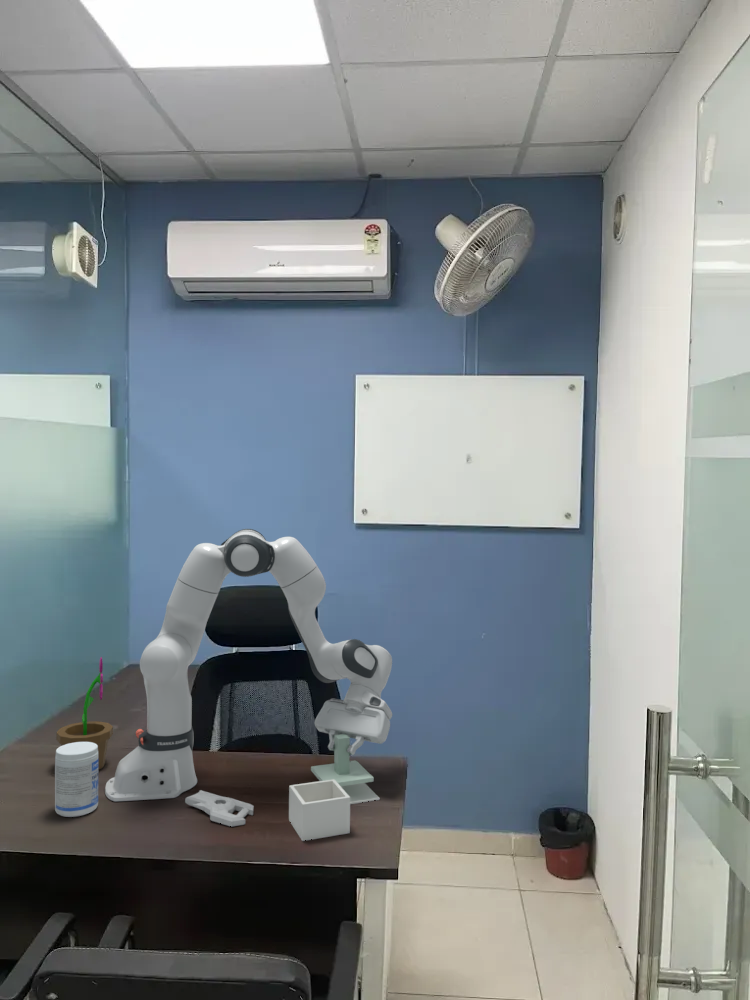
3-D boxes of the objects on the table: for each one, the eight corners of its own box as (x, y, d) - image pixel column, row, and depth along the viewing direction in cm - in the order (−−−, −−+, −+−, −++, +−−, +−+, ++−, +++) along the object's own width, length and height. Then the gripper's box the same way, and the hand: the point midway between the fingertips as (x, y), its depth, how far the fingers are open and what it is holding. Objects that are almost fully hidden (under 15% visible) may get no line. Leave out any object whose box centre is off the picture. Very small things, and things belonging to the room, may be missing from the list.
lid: (326, 791, 178) (326, 747, 178) (310, 773, 189) (311, 731, 189) (373, 784, 182) (373, 741, 182) (355, 767, 194) (356, 726, 194)
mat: (321, 808, 176) (321, 807, 176) (304, 785, 190) (304, 783, 190) (379, 799, 182) (379, 798, 182) (358, 777, 196) (358, 776, 196)
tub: (302, 841, 160) (302, 804, 160) (288, 819, 170) (289, 785, 170) (349, 833, 164) (350, 797, 164) (333, 812, 174) (334, 779, 174)
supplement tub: (102, 812, 172) (103, 750, 172) (59, 822, 167) (59, 757, 167) (92, 798, 180) (93, 738, 180) (51, 806, 175) (51, 745, 175)
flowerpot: (113, 772, 196) (115, 661, 196) (55, 780, 191) (56, 665, 191) (111, 754, 210) (112, 649, 209) (56, 760, 204) (57, 653, 204)
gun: (175, 798, 172) (202, 784, 181) (174, 813, 173) (201, 798, 182) (239, 818, 165) (264, 802, 174) (238, 833, 165) (263, 816, 174)
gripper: (322, 691, 197) (301, 738, 188) (390, 702, 187) (371, 752, 178) (331, 703, 201) (311, 750, 192) (398, 715, 191) (379, 765, 182)
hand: (340, 751), depth 185 cm, fingers closed on lid, 4 cm apart
